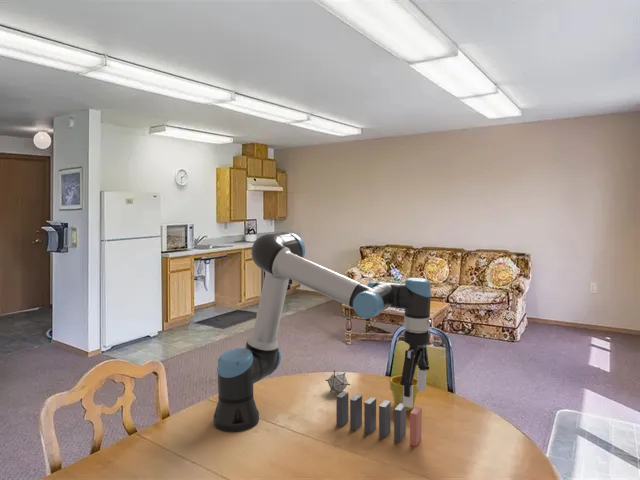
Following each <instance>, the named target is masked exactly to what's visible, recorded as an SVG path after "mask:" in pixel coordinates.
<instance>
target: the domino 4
mask: <svg viewBox="0 0 640 480" xmlns="http://www.w3.org/2000/svg"><path fill="white" fill-rule="evenodd" d="M391 403H392V402H391V401H390V400H387V399H384V400H383V401H382V402H381V403H380V405H379V406H378V414H379V415H378V437H379V438H382V439H386V438H387V436H388V435H389V434H390V433H391V430H392V428H391V426H392V425H391V424H392V423H391V422H392V417H391V416H392V414H391V412H392V409H391V408H392V407H391V406H392V404H391Z"/></svg>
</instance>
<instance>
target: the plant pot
mask: <svg viewBox="0 0 640 480" xmlns="http://www.w3.org/2000/svg"><path fill="white" fill-rule="evenodd" d="M401 378H402V374H401V375H394V376H392V377H391V378H390V380H389V382H390V383H389V384H390V385H389V388H390V391H392V399H393V403H394V408H396V407H397V406H398V405H399V403H402V404H403V385H401V384H400V382H401ZM412 385H413V407H412V408H410V407H406V412H407V411H412V410H413V409H414V408H415V403H416V399H417V394H418V393H419V391H420V390H417V378H416V377H414V378H413V382H412Z"/></svg>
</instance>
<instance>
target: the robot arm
mask: <svg viewBox="0 0 640 480" xmlns="http://www.w3.org/2000/svg"><path fill="white" fill-rule="evenodd" d="M250 252H251V258H252V260H253V263H254V264H255V265H256V266H257V268H259V269H261V270H262V271H264V273H265V274H264V279H263V284H262V289H261V292H260V293H261V294H260V297H259V302H258V308H257V311H256V316H255V317H256V318H255V320H254V326H253V331H252V335H249V336H248V337H247V338H246V341H245V342H246V343H245V347H243V348H241V347H239V348H234V349H229V350H226V351H224V352H223V353H222V354H220V355H219V357H218V359H217V367H216V370H217V371H216V373H217V392H218V393H217V395H218V397H217V398H218V399H217V400H218V401H217V404H216V407H215V411H214V414H213V426H214V428H215V429H217V430H219V431H221V432H225V433H226V432H227V433H235V432H243V431H247V430H249V429H252V428H254V427H255V426H256V425H257V424H258V423H259V422H260V412H259V410H258V408H257V404H256V402H255V399H254V398H255V397H254V384H256V383H257V382H259V381H261V380H262V379H264V378H266V377H268V376H270V375H272V373H274V372H275V371H276V370H277V369H278V368H279V366H280V364H281V360H282V353H281V351H280V347H279V346H280V344H279V342H278V341H277V336H278V332H279V327H280V322H281V318H282V313H283V308H284V304H285V299H286V295H287V291H288V286H289V283H290V280H291V281H293V282H295V283H296V284H297V283H298V284H300V285H302V286H304V287H307V288H308V289H311V290H313V291H315V292H317V293H318V294H322V295H324V296H326V297H328V298H330V299H333V300H334V301H337V302H339V303H341V304H343V305H345V306H348V307H349V308H352V309H353V311H354V312H355V314H356V315H357V316H358V317H360V318H362V319H372V318H375V317H376V316H379V315H380V314H381V313H382V312H383V311H386V310H387V309H389V308H390V309H391V308H392V309H399V310H400V309H403V310H404V316H403V317H404V318H403V319H404V320H403V321H404V322H403V328H404V329H403V341H404V343H406V344H407V345H409V347H408V350H405V352H404V361H403V367H402V371H401V372H402V374H401V375H402V378H401V382H400V384H401V385H403V406H406V407H410V408H412V407H413V385H412V382H413V378H415V373H416V371H417V374H416V377H417V378H416V379H417V390H419V391H422V392H426V391H427V371H429V370H430V366H429V365H430V361H429V356H428V347H427V345H429V343H430V325H431V324H432V320H430V318H431V302H432V301H431V299H432V293H431V290H432V289H431V288H432V287H431V281H429V280H428V279H427V278H423V277H409V278H406V279H405V282H404V283H396V282H395V283H394V282H393V283H392V282H384V281H381V280H379V281H369V283H367V285H366V284H363V283H361V282H359V281H357V280H355V279H352V278H350V277H347V276H345V275H343V274H341V273H338V272H336V271H334V270H331V269H328V268H327V267H325V266H322V265H320V264H318V263H315V262H313V261H310V260H309V259H306V258H304V257H305V255H306V247H305V244H304V242H303V239H302V238H301V237H300V236H298V235H297V234H296V233H293V232H286V231H282V232H277V233H276V232H275V233H267V234H262V235H261V236H259V237H258V238H256V240H254V242H253V244H252V246H251V251H250ZM417 366H418V368H417ZM416 369H417V370H416ZM413 408H414V407H413Z"/></svg>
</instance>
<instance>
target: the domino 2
mask: <svg viewBox="0 0 640 480" xmlns="http://www.w3.org/2000/svg"><path fill="white" fill-rule="evenodd" d="M362 425H363V394H358V393H356V394H354V395H353V397H351V398H350V399H349V430H351V431H355V432H356V431H357V430H358V429H359V428H360V427H361V426H362Z"/></svg>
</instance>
